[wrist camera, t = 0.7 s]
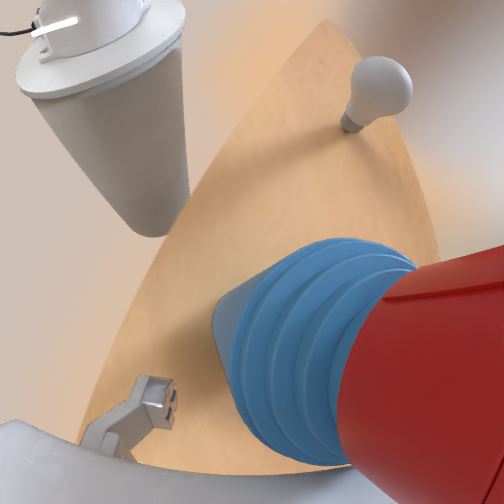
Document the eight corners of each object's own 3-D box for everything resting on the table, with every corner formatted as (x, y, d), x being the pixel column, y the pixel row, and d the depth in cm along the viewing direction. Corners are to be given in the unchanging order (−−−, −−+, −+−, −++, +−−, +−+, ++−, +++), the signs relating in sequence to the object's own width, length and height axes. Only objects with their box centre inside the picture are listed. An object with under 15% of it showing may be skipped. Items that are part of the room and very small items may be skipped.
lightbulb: (314, 108, 28) (355, 39, 17) (356, 108, 29) (401, 50, 18) (336, 152, 27) (391, 87, 16) (377, 149, 28) (435, 95, 17)
